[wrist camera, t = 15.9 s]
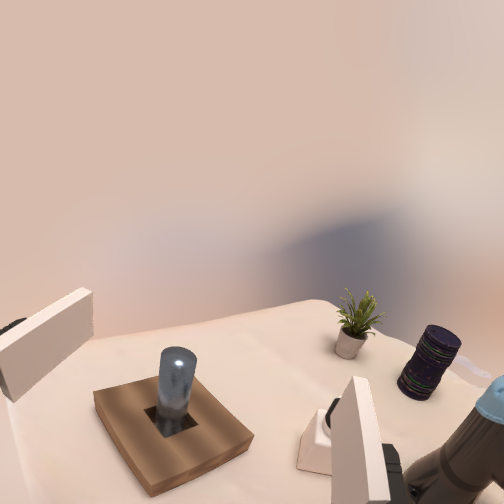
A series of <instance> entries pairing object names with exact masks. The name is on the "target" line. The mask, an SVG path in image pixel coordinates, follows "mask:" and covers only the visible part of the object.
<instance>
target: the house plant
mask: <svg viewBox="0 0 504 504" xmlns="http://www.w3.org/2000/svg"><path fill="white" fill-rule="evenodd" d="M345 289H346V288H345ZM348 292H349V291H348ZM349 293H350V292H349ZM350 295H351V293H350ZM372 297H373V296H371V297H370V298H369V291H367V293H366V295H365V298H364V300H363V299H362V300H361V302H360V304H359V309H358V310H357V311H356V312H355V303H354V299H353V297H352V295H351V298H352V302H353V307H354V309H353V307H352V305H351V307H352V309H353V312H354V317H353V316H352V311H351V308H350V306H349V304H348V306H349V309H350V312H351V315H348V314H347V313H346V311H345V309H344V308H343V306H342V305H341V307H342V308H343V311H342V310H339V311H337V312H341V313H340V314H342V315H343V316H345V317H346V319H347V321H346V320H344V319H342V320H340V321H339V322H338V323H345V324H344V325H343V326H341V329H340V333H339V337H338V341H337V345H336V349H335V352H336V354H337V355H339V356H340V357H342V358H344V359H353V358H354V357H355V355H356V354H357V352H358V351H359V350H360V348H361V347H362V345H363V344H364V343H365V341H366V340H367V338H368V336H367V334H366V333H372V332H364V331H366V330H368V329H371V327H370V326H369V325H370V324H373V323H381V322H379V321H374V322H372V321H373V320H374V319H376V318H378V317H377V316H376V317H374V318H372V319H370V320H369V321H367V322H366V320H367V319H368V318H369V316H370V315H371V313H372V312H373V311H374V309H375V307H376V304H377V302H375V298H373V299H374V300H373V299H372V300H373V302H372V300H371V298H372ZM341 298H342V297H341ZM368 298H369V299H368ZM343 299H344V298H343ZM345 300H346V299H345ZM370 300H371V301H370ZM371 302H372V303H371ZM374 302H375V304H374ZM370 303H371V305H370ZM369 305H370V307H369V309H368V310H367V308H368V306H369ZM366 310H367V312H366ZM365 312H366V313H365ZM343 313H344V314H343ZM364 314H365V315H364ZM363 315H364V316H363ZM378 316H379V315H378ZM340 317H342V316H340ZM347 317H348V318H349V319H350V322H351V321H352V323H350V322H349V320H348V318H347ZM385 317H386V316H385ZM353 322H354V325H353ZM365 322H366V323H365ZM370 322H371V323H370ZM364 323H365V324H364ZM364 326H365V327H364ZM361 328H362V329H361ZM372 334H374V336H375V333H372Z"/></svg>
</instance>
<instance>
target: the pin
mask: <svg viewBox="0 0 504 504" xmlns="http://www.w3.org/2000/svg"><path fill="white" fill-rule="evenodd" d="M196 363H197V358H196V356H195V354H194V353H193V352H191V351H190V350H188V349H186V348H183V347H168V348H166V349H164V350H163V351H162V353H161V359H160V369H159V380H158V391H157V404H156V418H155V427H156V428H157V429H158V431H159V432H160V433H161V435H162V436H163V437H164V438H167V437H170V436H172V435H175V434H178V433H180V432H183V431H184V427H185V421H186V416H187V410H188V405H189V399H190V394H191V389H192V384H193V378H194V373H195V368H196Z"/></svg>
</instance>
